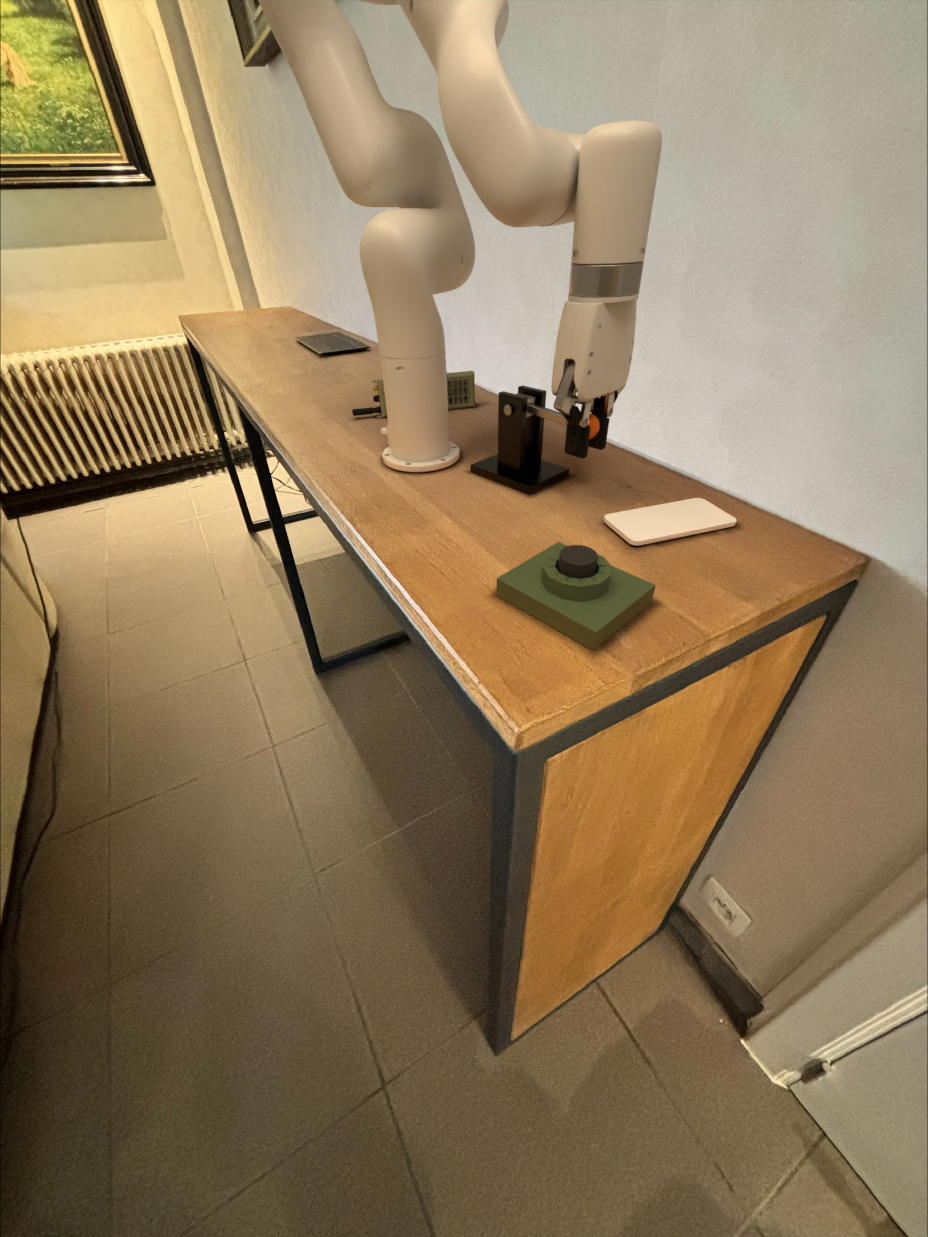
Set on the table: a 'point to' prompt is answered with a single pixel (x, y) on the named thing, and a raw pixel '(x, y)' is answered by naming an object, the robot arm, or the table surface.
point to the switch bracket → (520, 446)
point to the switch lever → (557, 415)
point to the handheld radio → (457, 391)
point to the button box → (575, 596)
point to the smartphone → (668, 521)
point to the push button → (577, 561)
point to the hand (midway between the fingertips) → (584, 449)
